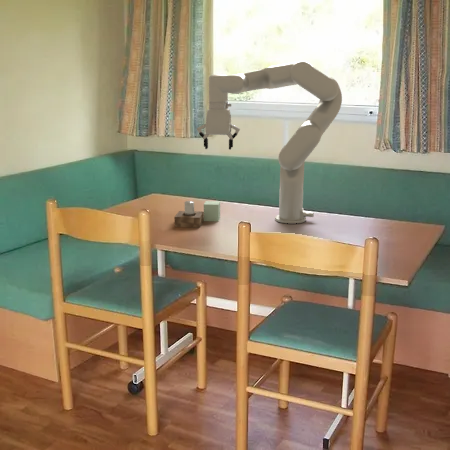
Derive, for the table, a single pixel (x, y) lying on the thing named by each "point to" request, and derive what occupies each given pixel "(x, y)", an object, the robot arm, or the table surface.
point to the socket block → (189, 219)
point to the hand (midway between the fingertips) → (218, 148)
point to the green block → (212, 211)
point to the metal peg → (189, 208)
